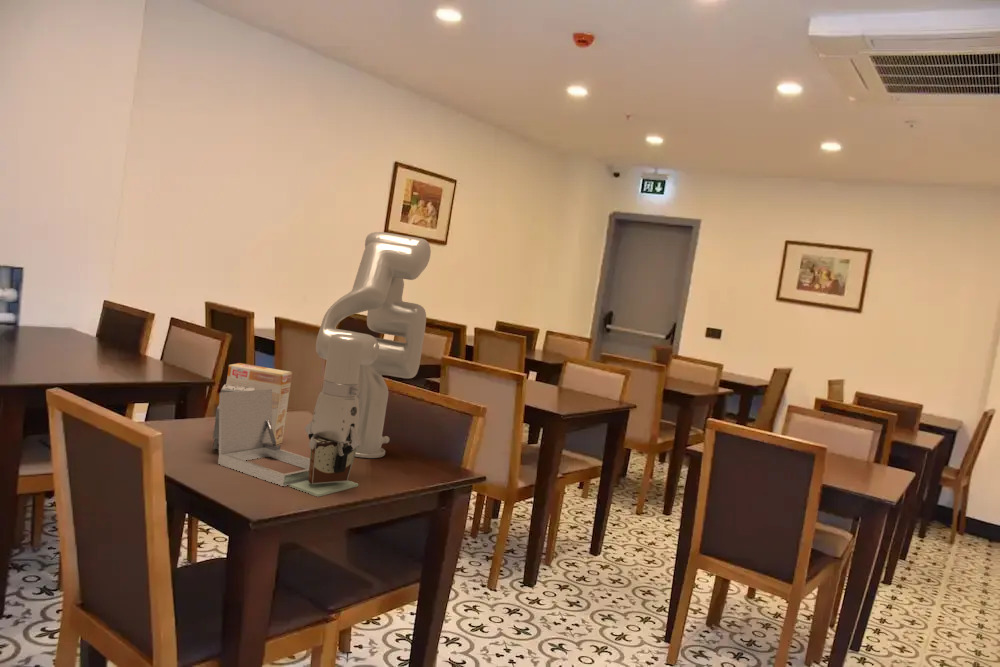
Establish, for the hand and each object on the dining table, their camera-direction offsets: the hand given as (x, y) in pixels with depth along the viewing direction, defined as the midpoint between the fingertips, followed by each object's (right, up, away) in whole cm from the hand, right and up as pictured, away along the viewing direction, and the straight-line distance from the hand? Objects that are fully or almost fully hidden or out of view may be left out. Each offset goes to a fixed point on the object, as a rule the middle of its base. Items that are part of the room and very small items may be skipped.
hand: (327, 467), depth 169 cm
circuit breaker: (-29, +1, +18) cm, 34 cm away
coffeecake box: (-27, +2, +30) cm, 41 cm away
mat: (-1, -4, 0) cm, 4 cm away
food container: (-1, -3, +1) cm, 3 cm away
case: (-15, -2, +7) cm, 17 cm away
